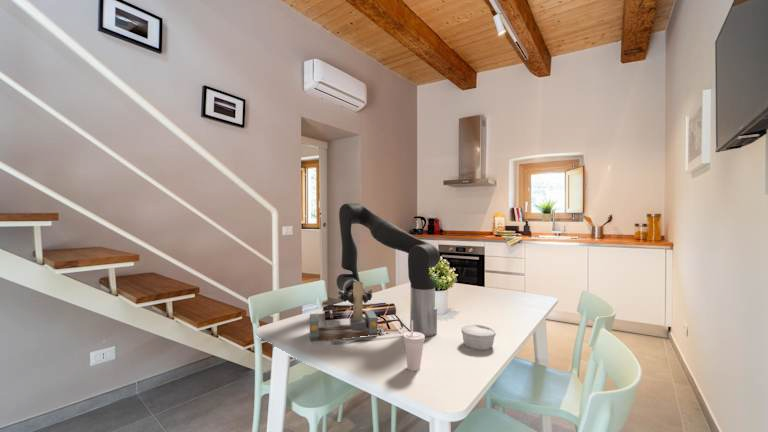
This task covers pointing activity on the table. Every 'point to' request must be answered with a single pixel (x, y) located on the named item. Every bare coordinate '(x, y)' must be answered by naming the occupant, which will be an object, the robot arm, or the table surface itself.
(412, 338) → the smoothie
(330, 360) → the table surface
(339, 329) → the rail bed
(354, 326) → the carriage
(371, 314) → the pair of sage blocks
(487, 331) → the ramekin
